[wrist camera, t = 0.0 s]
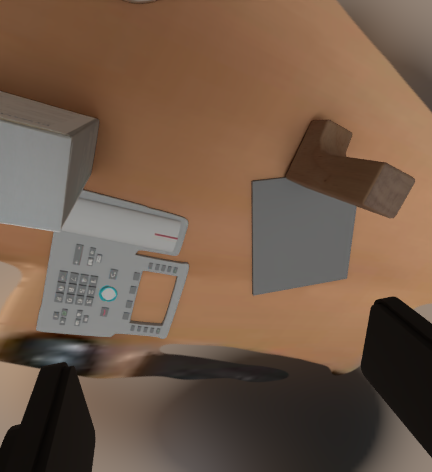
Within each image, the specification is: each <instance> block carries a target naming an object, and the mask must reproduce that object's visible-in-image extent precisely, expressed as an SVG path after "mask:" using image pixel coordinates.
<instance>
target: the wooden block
mask: <svg viewBox="0 0 432 472" xmlns="http://www.w3.org/2000/svg"><path fill="white" fill-rule="evenodd" d="M351 137H352V133H351V132H350V131H348V130H347V129H345V128H343V127H341V126H339V125H338V124H336V123H334V122H332V121H331V120H313V121H312V122H311V124H310V126H309V128H308V130H307V132H306V134H305V136H304V139H303V141H302V143H301V145H300V147H299V149H298V151H297V153H296V156H295V158H294V160H293V162H292V164H291V166H290V168H289V170H288V173H287V175H286V178H287V179H288V180H290V181H292V182H294V183H297V184H299V185H301V186H303V187H305V188H308V189H310V190H313V191H316V192H319V193H322V194H324V195H327V196H330V197H333V198H335V199H338V200H341V201H344V202H346V203H349V204H352V205H355V206H357V207H360V208H363V209H366V210H368V211H371V212H374V213H377V214H379V215H382V216H385V217H388V218H394V217H395V216H396V215H397V213H398V211H399V209H400V208H401V206H402V204H403V202H404V201H405V199H406V197H407V195H408V194H409V192H410V190H411V188H412V186H413V185H414V183H415V179H414V178H413V177H411V176H410V175H408V174H406V173H404V172H402V171H400V170H399V169H397V168H395V167H393V166H391V165H389V164H388V163H385V162H378V161H371V160H364V159H357V158H350V157H346V150H347V148H348V145H349V143H350V140H351Z"/></svg>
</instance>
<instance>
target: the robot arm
mask: <svg viewBox="0 0 432 472" xmlns="http://www.w3.org/2000/svg"><path fill="white" fill-rule="evenodd" d="M124 1H127V2H131V3H148V2H154V1H156V0H124ZM361 370H362V373H363V374H364V376H365V377H366V379H367V380H368V381H369V382H370V384H371V385H372V386H373V387H374V388H375V390H376V391H377V392H378V393H379V394H380V395H381V397H382V398H383V399H384V400H385V402H386V403H387V404H388V405H389V407H390V408H391V409H392V410H393V411H394V413H395V414H396V415H397V416H398V417H399V419H400V420H401V421H402V422H403V423H404V425H405V426H406V427H407V428H408V430H409V431H410V432H411V433H412V434H413V436H414V437H415V438H416V439H417V440H418V442H419V443H420V444H421V445H422V446H423V448H424V449H425V450H426V451H427V453H428V454H429V455H430V456H431V457H432V324H431V323H430V322H429V321H427V320H426V319H425V318H424V317H422V316H421V315H420V314H418V313H417V312H416V311H414V310H413V309H412V308H410V307H409V306H408V305H406V304H405V303H404V302H402V301H401V300H400V299H398V298H397V297H388V298H383V299H378V300H376V301H375V302H374V305H372V307H371V310H370V315H369V321H368V327H367V332H366V338H365V344H364V349H363V355H362V361H361ZM94 448H95V430H94V426H93V423H92V420H91V417H90V414H89V410H88V407H87V404H86V401H85V398H84V395H83V392H82V388H81V385H80V382H79V379H78V376H77V372H76V369H75V367H74V366H70V367H68V365H67V363H66V362H62V363H57V364H52V365H47V366H43V367H42V368H41V370H40V372H39V375H38V378H37V381H36V383H35V386H34V389H33V392H32V394H31V397H30V400H29V403H28V405H27V408H26V411H25V414H24V416H23V419H22V422H21V424H19V425H15V426H12V427H11V428H10V429H9V430H8V431H7V434H6V436H5V437H4V440H3V442H2V445H1V448H0V472H92V465H93V457H94Z"/></svg>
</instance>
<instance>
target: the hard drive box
mask: <svg viewBox="0 0 432 472" xmlns="http://www.w3.org/2000/svg"><path fill="white" fill-rule="evenodd" d="M98 128H99V119H96V118H93V117H89V116H86V115H82V114H78V113H75V112H72V111H68V110H65V109H61V108H57V107H54V106H50V105H47V104H44V103H40V102H37V101H33V100H30V99H26V98H23V97H19V96H16V95H12V94H9V93H5V92H2V91H0V223H3V224H10V225H17V226H23V227H29V228H35V229H42V230H48V231H54V232H61V229H62V227H63V225H64V223H65V221H66V220H67V218H68V216H69V214H70V212H71V211H72V209H73V207H74V205H75V203H76V201H77V199H78V198H79V196H80V194H81V192H82V190H83V188H84V186H85V184H86V182H87V181H88V179H89V177H90V175H91V172H92V166H93V160H94V154H95V148H96V142H97V135H98Z"/></svg>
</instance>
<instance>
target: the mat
mask: <svg viewBox="0 0 432 472" xmlns="http://www.w3.org/2000/svg"><path fill="white" fill-rule="evenodd" d="M355 214H356V206H355V205H352V204H349V203H346V202H344V201H341V200H338V199H335V198H333V197H330V196H327V195H324V194H322V193H319V192H316V191H313V190H310V189H308V188H305V187H303V186H301V185H299V184H297V183H294V182H292V181H290V180H288V179H287V178H286V177H282V178H273V179H264V180H255V181H252V294H253V295H259V294H264V293H270V292H275V291H281V290H286V289H292V288H297V287H303V286H308V285H314V284H319V283H325V282H330V281H336V280H341V279H347V274H348V266H349V259H350V251H351V244H352V236H353V229H354V221H355Z"/></svg>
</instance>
